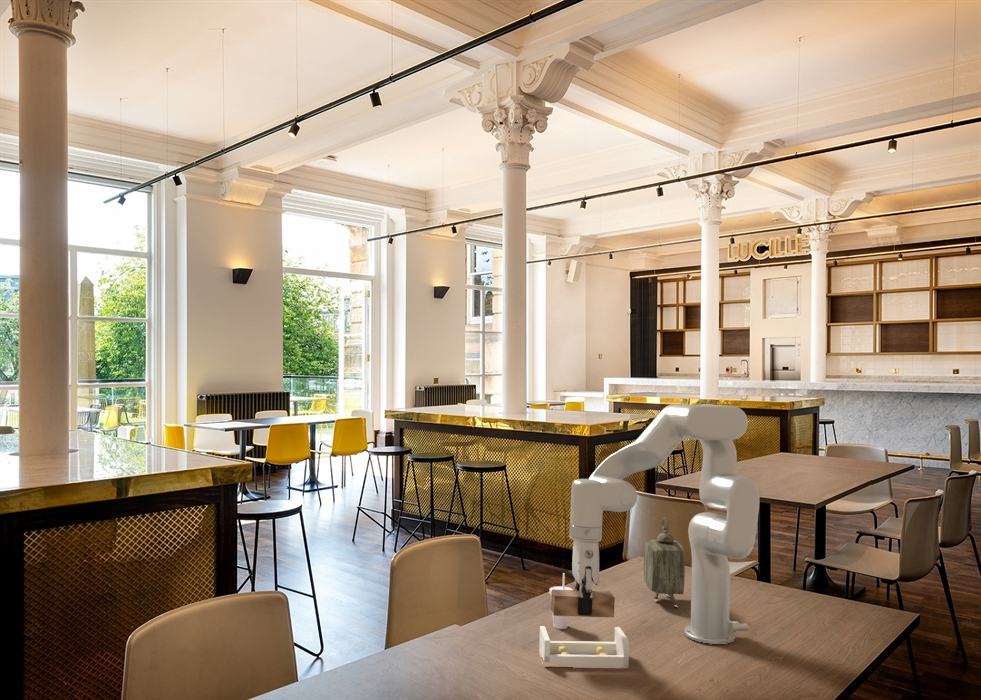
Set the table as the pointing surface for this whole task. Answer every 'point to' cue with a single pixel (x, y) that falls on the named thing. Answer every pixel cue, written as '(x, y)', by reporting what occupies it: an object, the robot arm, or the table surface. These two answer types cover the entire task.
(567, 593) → the plank
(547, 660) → the frame
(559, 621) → the smoothie
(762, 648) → the table surface
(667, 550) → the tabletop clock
